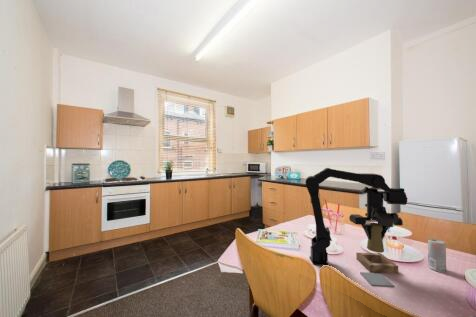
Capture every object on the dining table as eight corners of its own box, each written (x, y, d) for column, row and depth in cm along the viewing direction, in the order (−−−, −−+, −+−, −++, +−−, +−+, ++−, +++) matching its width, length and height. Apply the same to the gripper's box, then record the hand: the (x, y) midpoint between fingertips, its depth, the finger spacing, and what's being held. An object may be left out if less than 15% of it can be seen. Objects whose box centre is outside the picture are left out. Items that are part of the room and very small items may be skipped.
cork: (387, 253, 79) (387, 226, 79) (371, 251, 80) (370, 225, 80) (379, 246, 85) (379, 221, 85) (364, 245, 86) (364, 220, 86)
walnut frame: (370, 272, 80) (370, 265, 80) (356, 258, 91) (356, 252, 91) (398, 273, 79) (398, 266, 79) (381, 259, 90) (381, 253, 90)
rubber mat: (371, 285, 72) (371, 284, 72) (360, 273, 80) (360, 272, 80) (394, 287, 71) (394, 285, 71) (380, 274, 79) (380, 272, 79)
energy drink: (441, 267, 84) (440, 239, 84) (449, 273, 79) (449, 244, 79) (425, 264, 85) (424, 237, 86) (433, 271, 80) (432, 242, 81)
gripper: (363, 207, 75) (363, 247, 75) (413, 208, 74) (414, 249, 74) (348, 201, 86) (348, 236, 86) (392, 201, 85) (392, 237, 85)
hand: (375, 239), depth 82 cm, fingers closed on cork, 4 cm apart
